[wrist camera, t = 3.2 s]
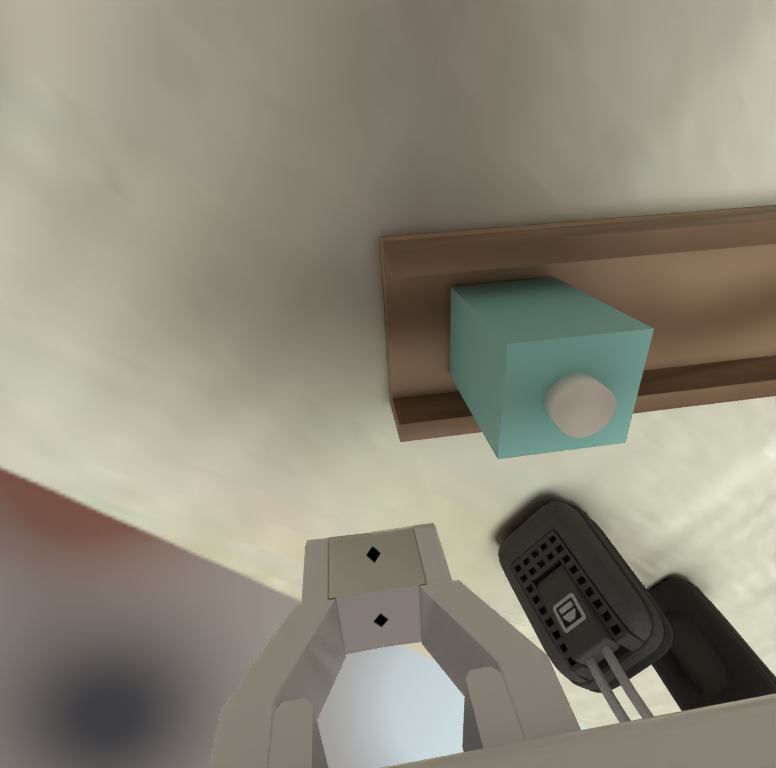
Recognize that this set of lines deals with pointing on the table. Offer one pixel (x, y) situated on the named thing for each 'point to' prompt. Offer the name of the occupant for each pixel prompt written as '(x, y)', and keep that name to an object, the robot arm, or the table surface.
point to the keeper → (545, 365)
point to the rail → (609, 285)
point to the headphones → (623, 618)
